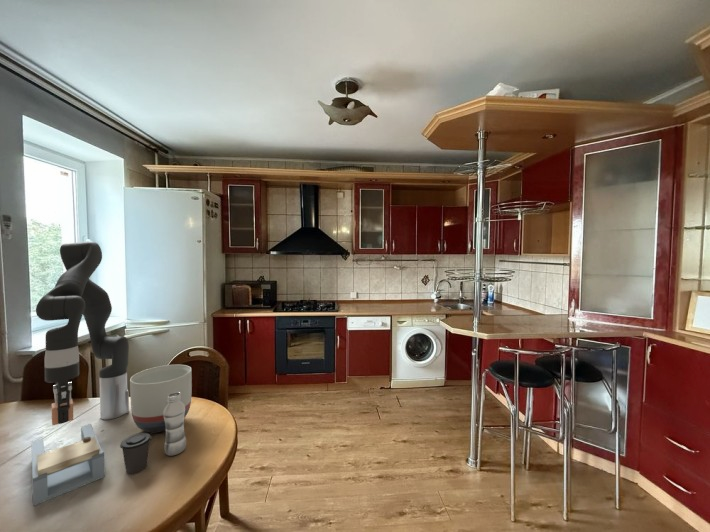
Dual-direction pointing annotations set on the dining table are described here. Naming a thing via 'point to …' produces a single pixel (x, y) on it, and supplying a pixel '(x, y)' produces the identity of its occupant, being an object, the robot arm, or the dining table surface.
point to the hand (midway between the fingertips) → (62, 419)
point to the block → (55, 412)
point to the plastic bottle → (174, 425)
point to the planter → (158, 394)
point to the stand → (65, 471)
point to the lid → (67, 456)
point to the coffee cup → (136, 452)
